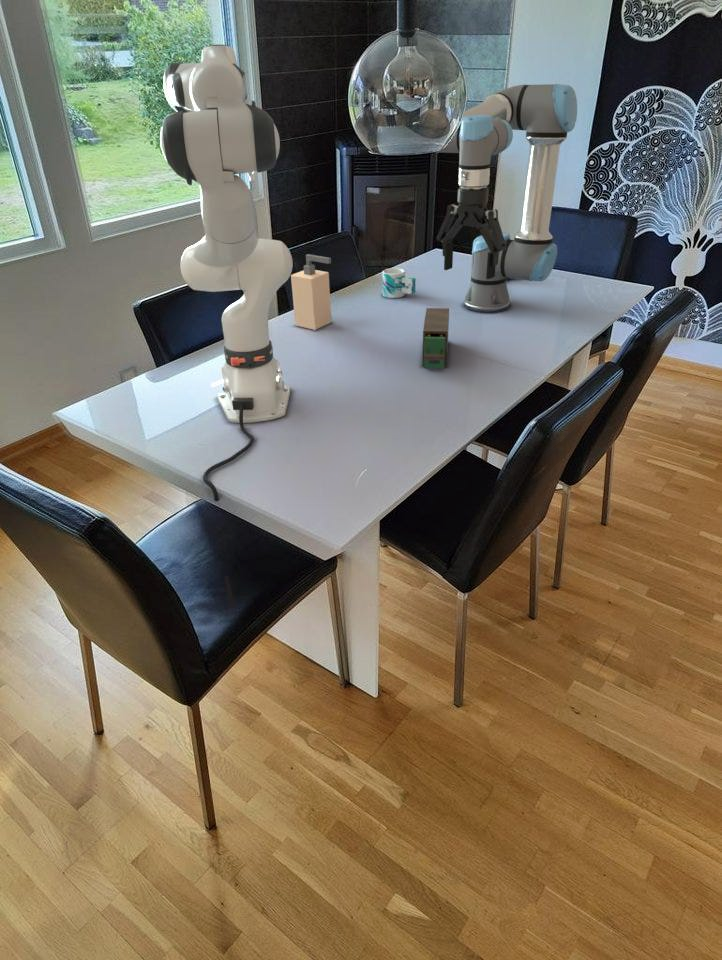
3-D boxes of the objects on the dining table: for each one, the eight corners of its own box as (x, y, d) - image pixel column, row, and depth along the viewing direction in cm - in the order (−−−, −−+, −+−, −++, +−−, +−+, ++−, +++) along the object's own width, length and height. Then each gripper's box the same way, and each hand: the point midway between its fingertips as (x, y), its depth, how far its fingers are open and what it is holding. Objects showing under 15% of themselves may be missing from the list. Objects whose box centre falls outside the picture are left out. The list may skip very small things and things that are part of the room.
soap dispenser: (294, 325, 217) (288, 256, 206) (311, 317, 223) (306, 249, 211) (325, 332, 211) (320, 261, 199) (342, 324, 217) (338, 255, 205)
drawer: (443, 376, 179) (444, 345, 174) (423, 375, 179) (423, 345, 175) (445, 344, 197) (446, 315, 193) (427, 343, 198) (427, 315, 194)
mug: (390, 289, 246) (390, 266, 241) (419, 294, 240) (419, 270, 235) (378, 296, 240) (378, 272, 235) (407, 300, 234) (407, 277, 230)
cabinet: (446, 367, 186) (447, 331, 180) (422, 366, 187) (423, 331, 181) (448, 341, 201) (449, 308, 196) (425, 341, 202) (426, 308, 196)
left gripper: (184, 126, 162) (193, 187, 170) (268, 121, 165) (274, 182, 173) (184, 124, 168) (194, 183, 175) (266, 119, 171) (272, 178, 178)
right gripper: (424, 184, 170) (423, 268, 182) (508, 194, 155) (500, 285, 167) (442, 179, 175) (440, 262, 186) (525, 189, 160) (517, 278, 171)
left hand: (234, 182), depth 174 cm, fingers open, 8 cm apart
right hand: (468, 273), depth 176 cm, fingers open, 13 cm apart
